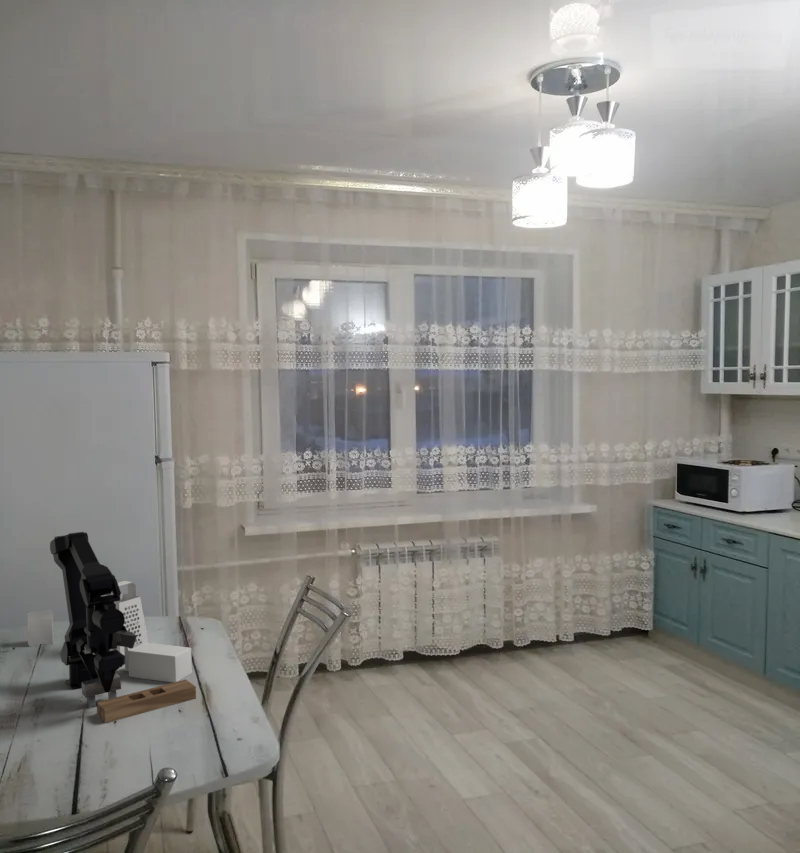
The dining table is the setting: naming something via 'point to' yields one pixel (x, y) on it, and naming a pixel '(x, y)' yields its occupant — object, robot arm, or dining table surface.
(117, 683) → the grey block
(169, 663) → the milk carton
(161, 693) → the rail
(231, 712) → the dining table surface
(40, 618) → the pale grey block
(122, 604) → the grater
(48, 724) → the dining table surface
